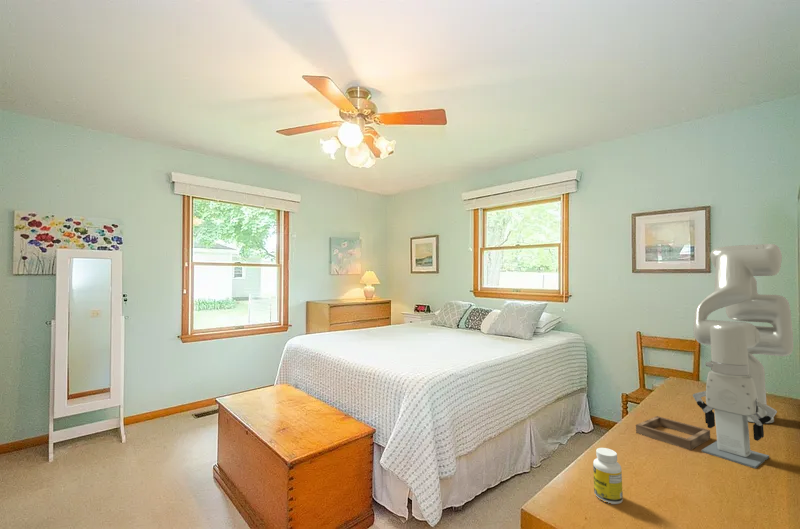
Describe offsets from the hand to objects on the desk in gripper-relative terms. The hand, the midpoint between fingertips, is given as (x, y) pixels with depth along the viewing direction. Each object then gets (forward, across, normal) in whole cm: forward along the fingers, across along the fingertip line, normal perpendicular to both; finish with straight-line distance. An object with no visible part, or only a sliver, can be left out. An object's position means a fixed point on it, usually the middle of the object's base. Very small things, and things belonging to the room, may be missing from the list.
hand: (733, 432), depth 99 cm
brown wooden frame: (+6, -14, 0) cm, 16 cm away
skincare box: (+5, 0, 0) cm, 5 cm away
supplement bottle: (+6, -8, -49) cm, 50 cm away
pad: (+6, 0, 0) cm, 6 cm away
